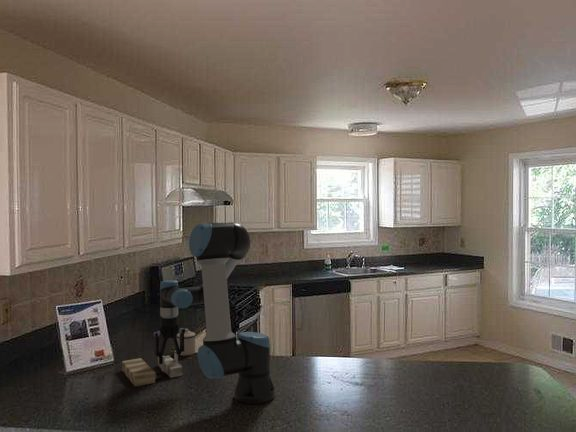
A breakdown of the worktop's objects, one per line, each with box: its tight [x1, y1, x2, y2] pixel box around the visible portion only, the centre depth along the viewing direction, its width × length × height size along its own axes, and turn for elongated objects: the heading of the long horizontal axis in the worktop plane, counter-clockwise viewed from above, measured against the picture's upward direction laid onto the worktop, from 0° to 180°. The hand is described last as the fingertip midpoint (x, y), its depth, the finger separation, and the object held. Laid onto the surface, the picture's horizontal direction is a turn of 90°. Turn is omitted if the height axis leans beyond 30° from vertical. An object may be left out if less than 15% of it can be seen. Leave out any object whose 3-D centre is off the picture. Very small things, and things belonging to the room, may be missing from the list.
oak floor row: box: [121, 357, 158, 387], centre depth 193 cm, size 22×9×4 cm, turn 32°
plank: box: [157, 355, 183, 378], centre depth 200 cm, size 18×5×4 cm, turn 32°
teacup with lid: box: [176, 328, 197, 356], centre depth 225 cm, size 12×9×12 cm
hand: (169, 369), depth 200 cm, fingers open, 5 cm apart
